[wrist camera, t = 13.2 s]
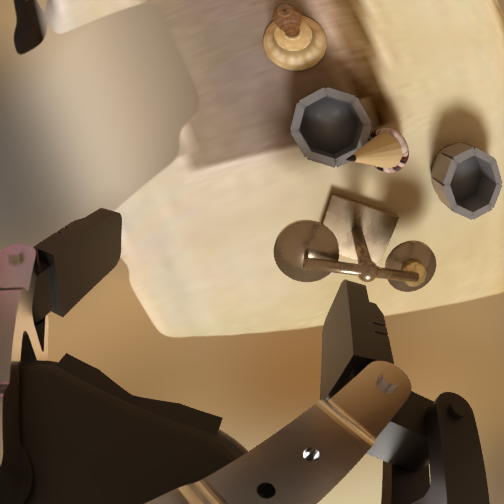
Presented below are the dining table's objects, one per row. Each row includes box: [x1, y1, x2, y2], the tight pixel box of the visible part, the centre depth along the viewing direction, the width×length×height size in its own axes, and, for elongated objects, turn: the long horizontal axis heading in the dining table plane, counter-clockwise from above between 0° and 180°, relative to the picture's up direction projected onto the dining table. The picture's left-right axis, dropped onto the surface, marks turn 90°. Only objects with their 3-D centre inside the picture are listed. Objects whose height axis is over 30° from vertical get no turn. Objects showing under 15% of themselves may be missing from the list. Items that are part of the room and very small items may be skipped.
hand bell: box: [263, 4, 327, 71], centre depth 27 cm, size 8×8×16 cm
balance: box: [274, 193, 436, 292], centre depth 38 cm, size 8×21×15 cm, turn 77°
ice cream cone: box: [346, 128, 409, 173], centre depth 33 cm, size 6×6×15 cm
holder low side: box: [431, 142, 502, 220], centre depth 35 cm, size 9×9×6 cm
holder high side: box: [290, 87, 372, 167], centre depth 36 cm, size 9×9×6 cm
